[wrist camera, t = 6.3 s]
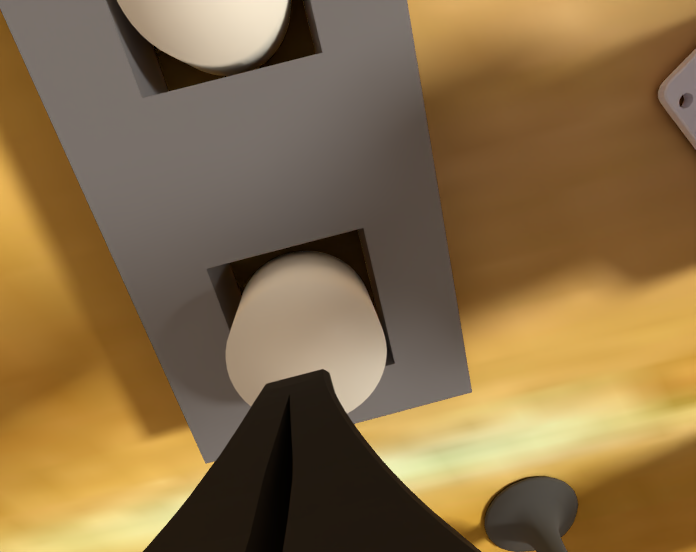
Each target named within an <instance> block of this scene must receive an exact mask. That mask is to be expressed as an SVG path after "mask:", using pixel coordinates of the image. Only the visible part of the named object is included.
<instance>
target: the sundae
mask: <svg viewBox="0 0 696 552" xmlns="http://www.w3.org/2000/svg"><path fill="white" fill-rule="evenodd" d="M577 508H578V502H577V497H576V494H575V492H574V490H573V489H572V488H571V487H570V486H569V485H568V484H567V483H565V482H564V481H561V480H558V479H555V478H551V477H532V478H527V479H524V480H521V481H518V482H516V483H514V484H512V485H510V486H509V487H507V488H506V489H504V490H503V491H502V492H501V493H499V494H498V495H497V496H496V498H495V499H494V500H493V502H492V503H491V505H490V506H489V508H488V510H487V513H486V517H485V525H484V526H485V530H486V533H487V535H488V537H489V539H490V540H491V541H492V542H494V543H495V544H496V545H497V546H499V547H500V548H502V549H505V550H508V551H514V552H524V551H534V550H536V551H537V552H567V550H566V548H565V546H564V544H563V542H562V540H561V537H562V536H563V535H564V534H565V533H566V532H567V531H568V530H569V529H570V527H571V525H572V524H573V522H574V520H575V517H576V513H577Z"/></svg>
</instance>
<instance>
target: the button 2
mask: <svg viewBox="0 0 696 552" xmlns="http://www.w3.org/2000/svg"><path fill="white" fill-rule="evenodd" d="M386 356H387V347H386V340H385V336H384V332H383V329H382V326H381V324H380V321H379V319H378V316H377V314H376V311H375V309H374V306H373V304H372V301H371V299H370V296H369V294H368V291H367V289H366V287H365V285H364V283H363V281H362V279H361V278H360V276H359V275H358V274H357V273H356V272H355V271H354V269H353V268H351V267H350V266H349V265H348V264H347V263H345V262H343V261H342V260H340V259H338V258H336V257H334V256H332V255H329V254H326V253H323V252H317V251H295V252H290V253H286V254H283V255H280V256H278V257H276V258H274V259H272V260H270V261H268V262H267V263H265V264H264V265H263V266H262V267H260V268H259V269H258V270H257V271H256V272H255V273H254V275H253V276H252V277H251V279H250V280H249V282H248V283H247V285H246V287H245V289H244V292H243V295H242V298H241V301H240V304H239V307H238V310H237V312H236V315H235V318H234V321H233V324H232V327H231V330H230V333H229V337H228V340H227V345H226V366H227V371H228V374H229V377H230V380H231V382H232V384H233V386H234V388H235V389H236V391H237V392H238V394H239V395H240V396H241V397H242V398H243V400H244V401H245V402H246V403H248V404H249V405H250V406H252V405H253V403H254V401H255V400H256V398H257V397H258V395H259V394H260V392H261V391H262V389H263V387H264V386H265V384H267V383H271V382H274V381H278V380H282V379H286V378H290V377H294V376H297V375H301V374H305V373H309V372H313V371H317V370H321V369H324V370H326V371H328V372H329V373H330V376H331V380H332V383H333V387H334V390H335V394H336V396H337V397H338V399H339V401H340V403H341V405H342V407H343V408H344V410H345V411H346V413H349V412H351V411H352V410H354V409H355V408H357V407H358V406H359V405H361V404H362V403H363V402H364V401H365V400H366V399H367V398H368V397H369V396H370V394H371V393H372V392H373V391H374V389H375V388H376V386H377V385H378V383H379V381H380V379H381V376H382V374H383V371H384V368H385V364H386Z"/></svg>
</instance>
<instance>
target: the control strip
mask: <svg viewBox="0 0 696 552" xmlns="http://www.w3.org/2000/svg"><path fill="white" fill-rule="evenodd" d="M303 4H304V8H305V12H306V16H307V21H308V25H309V29H310V33H311V37H312V42H313V46H314V50H315V55H311V56H307V57H303V58H299V59H295V60H291V61H287V62H283V63H279V64H275V65H271V66H267V67H264V68H260V69H256V70H252V71H248V72H244V73H240V74H236V75H232V76H228V77H224V78H220V79H216V80H212V81H208V82H204V83H201V84H197V85H193V86H189V87H185V88H181V89H177V90H173V91H168V88H167V85H166V83H165V80H164V77H163V74H162V71H161V68H160V66H159V63H158V60H157V57H156V54H155V52H154V49H153V46H152V44H151V43H150V42H149V41H148V40H147V39H146V38H144V37H143V36H142V35H141V34H140V33H139V32H138V31H137V29H136V28H135V27H134V26H133V25H132V24H131V22H130V21H129V20H128V18H127V17H126V15H125V14H124V13H123V11H122V9H121V7H120V6H119V4H118V2H117V0H0V9H1V12H2V14H3V16H4V18H5V21H6V23H7V25H8V27H9V29H10V32H11V34H12V36H13V38H14V40H15V43H16V45H17V47H18V49H19V52H20V54H21V56H22V58H23V60H24V63H25V65H26V67H27V69H28V71H29V74H30V76H31V78H32V80H33V82H34V85H35V87H36V89H37V91H38V94H39V96H40V98H41V100H42V102H43V105H44V107H45V109H46V111H47V113H48V116H49V118H50V120H51V122H52V125H53V127H54V129H55V131H56V133H57V136H58V138H59V140H60V142H61V144H62V147H63V149H64V151H65V153H66V156H67V158H68V160H69V162H70V164H71V167H72V169H73V171H74V173H75V175H76V178H77V180H78V182H79V184H80V187H81V189H82V191H83V193H84V195H85V198H86V200H87V202H88V204H89V206H90V209H91V211H92V213H93V215H94V218H95V220H96V222H97V224H98V226H99V229H100V231H101V233H102V235H103V237H104V240H105V242H106V244H107V246H108V248H109V251H110V253H111V255H112V257H113V260H114V262H115V264H116V266H117V268H118V271H119V273H120V275H121V277H122V279H123V282H124V284H125V286H126V288H127V291H128V293H129V295H130V297H131V299H132V302H133V304H134V306H135V308H136V310H137V313H138V315H139V317H140V319H141V322H142V324H143V326H144V328H145V330H146V333H147V335H148V337H149V339H150V341H151V344H152V346H153V348H154V350H155V353H156V355H157V357H158V359H159V361H160V364H161V366H162V368H163V370H164V372H165V375H166V377H167V379H168V381H169V384H170V386H171V388H172V390H173V392H174V395H175V397H176V399H177V401H178V403H179V406H180V408H181V410H182V412H183V414H184V417H185V419H186V421H187V423H188V426H189V428H190V430H191V432H192V434H193V437H194V439H195V441H196V443H197V445H198V448H199V450H200V452H201V454H202V457H203V459H204V461H205V463H210V462H213V461H216V460H217V458H218V457H219V456H220V454H221V453H222V451H223V450H224V448H225V447H226V445H227V444H228V442H229V441H230V439H231V438H232V436H233V435H234V433H235V431H236V430H237V428H238V427H239V425H240V424H241V422H242V421H243V419H244V417H245V416H246V414H247V413H248V411H249V409H250V408H251V406H250V405H249V404H248V403H246V402H245V401H244V400H243V398H242V397H241V396H240V395H239V394H238V392H237V391H236V389H235V388H234V386H233V384H232V382H231V380H230V377H229V374H228V371H227V366H226V345H227V340H228V337H229V333H230V330H231V327H232V324H233V321H234V318H235V315H236V312H237V310H238V307H239V304H240V301H241V298H242V297H241V294H240V291H239V289H238V286H237V283H236V280H235V277H234V274H233V272H232V269H231V266H230V263H231V262H234V261H238V260H242V259H246V258H250V257H254V256H257V255H261V254H265V253H269V252H273V251H277V250H280V249H284V248H288V247H292V246H296V245H300V244H303V243H307V242H311V241H315V240H319V239H323V238H326V237H330V236H334V235H338V234H342V233H346V232H349V231H353V230H358V234H359V239H360V243H361V247H362V251H363V255H364V260H365V264H366V268H367V272H368V276H369V280H370V285H371V289H372V293H373V297H374V301H375V306H376V310H377V314H378V318H379V321H380V324H381V326H382V329H383V332H384V336H385V340H386V347H387V356H386V364H385V368H384V371H383V374H382V376H381V379H380V381H379V383H378V385H377V386H376V388H375V389H374V391H373V392H372V393H371V394H370V396H369V397H368V398H367V399H366V400H365V401H364V402H363V403H362V404H361V405H359V406H358V407H357V408H355V409H354V410H352V411H351V412H349V413H347V414H348V416H349V417H350V419H351V420H352V422H353V424H355V423H359V422H363V421H366V420H370V419H374V418H378V417H381V416H385V415H389V414H393V413H396V412H400V411H404V410H407V409H411V408H415V407H419V406H422V405H426V404H430V403H434V402H437V401H441V400H445V399H448V398H452V397H456V396H460V395H463V394H467V393H471V392H472V389H471V383H470V377H469V371H468V365H467V359H466V353H465V347H464V341H463V335H462V329H461V323H460V317H459V311H458V305H457V299H456V293H455V287H454V281H453V275H452V269H451V263H450V257H449V251H448V245H447V239H446V233H445V227H444V221H443V215H442V209H441V203H440V197H439V191H438V185H437V179H436V172H435V166H434V160H433V154H432V148H431V142H430V136H429V130H428V124H427V118H426V112H425V106H424V100H423V94H422V88H421V82H420V76H419V70H418V64H417V58H416V52H415V46H414V40H413V34H412V28H411V22H410V16H409V10H408V4H407V0H303Z"/></svg>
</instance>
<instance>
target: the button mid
mask: <svg viewBox="0 0 696 552" xmlns="http://www.w3.org/2000/svg"><path fill="white" fill-rule="evenodd" d="M117 2H118V4H119V6H120V7H121V9H122V11H123V13H124V14H125V15H126V17H127V18H128V20H129V21H130V22H131V24H132V25H133V26H134V27H135V28H136V29H137V31H138V32H139V33H140V34H141V35H142V36H143V37H144V38H146V39H147V40H148V41H149V42H150V43H151V44H153V45H154V46H156V47H157V48H158V49H160V50H161V51H163V52H165V53H167V54H169V55H170V56H172V57H174V58H176V59H178V60H180V61H182V62H184V63H186V64H188V65H190V66H192V67H194V68H196V69H198V70H200V71H203V72H206V73H209V74H213V75H220V76H232V75H236V74H240V73H244V72H248V71H252V70H254V69H256V68H258V67H260V66H261V65H262V64H264V63H265V62H266V61H267V60H269V59H270V58H271V57H272V56H273V54H274V53H275V52H276V51H277V49H278V48H279V46H280V45H281V43H282V41H283V39H284V37H285V34H286V32H287V29H288V25H289V21H290V15H291V0H117Z"/></svg>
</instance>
